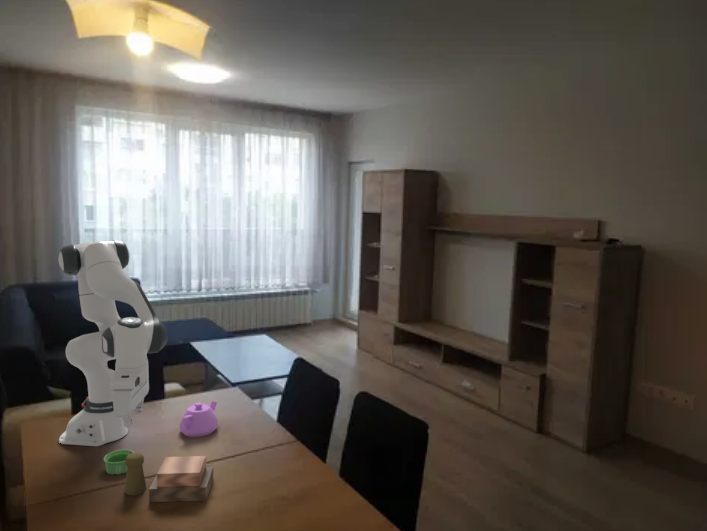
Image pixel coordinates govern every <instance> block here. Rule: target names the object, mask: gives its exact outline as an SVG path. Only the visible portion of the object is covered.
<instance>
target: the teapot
mask: <svg viewBox="0 0 707 531" xmlns="http://www.w3.org/2000/svg"><path fill="white" fill-rule="evenodd" d="M217 404H218V403H217V402H216V401H213V400H211V402H210V404H206V403H202V402H195V403H194V404H192V405H190V406H188V407H187V409H186V410H185V412H184V413H183V415H182V417H181V420H180V421H179V422H180V423H179V430H180V432H181V433H182V434H183V435H184V436H186V437H190V438H202V437H206V436H209V435H210V434H213V433H214V431H216V429H217V428H218V425H219V423H218V418H217V415H216V413H215V410H216V406H217Z"/></svg>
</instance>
